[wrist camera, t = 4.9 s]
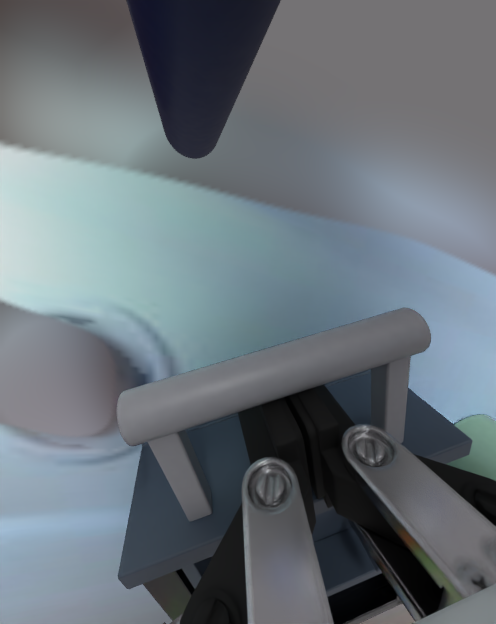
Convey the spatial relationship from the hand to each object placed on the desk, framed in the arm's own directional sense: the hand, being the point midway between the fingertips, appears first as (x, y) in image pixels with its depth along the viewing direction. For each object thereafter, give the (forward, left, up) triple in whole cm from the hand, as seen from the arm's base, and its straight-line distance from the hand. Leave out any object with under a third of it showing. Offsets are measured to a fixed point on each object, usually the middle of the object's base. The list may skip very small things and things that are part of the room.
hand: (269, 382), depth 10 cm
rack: (+7, 0, -2) cm, 7 cm away
